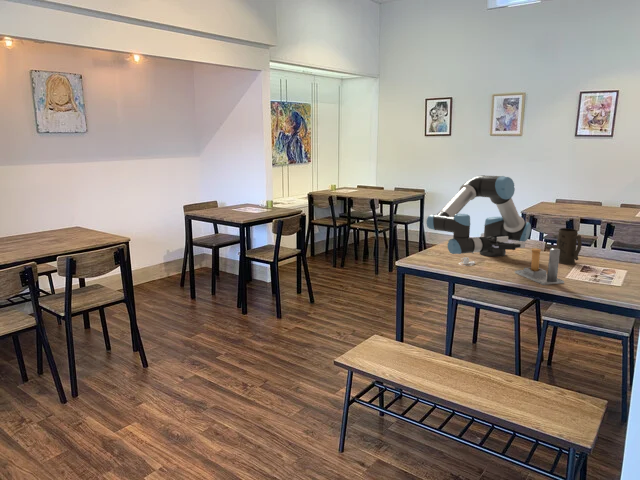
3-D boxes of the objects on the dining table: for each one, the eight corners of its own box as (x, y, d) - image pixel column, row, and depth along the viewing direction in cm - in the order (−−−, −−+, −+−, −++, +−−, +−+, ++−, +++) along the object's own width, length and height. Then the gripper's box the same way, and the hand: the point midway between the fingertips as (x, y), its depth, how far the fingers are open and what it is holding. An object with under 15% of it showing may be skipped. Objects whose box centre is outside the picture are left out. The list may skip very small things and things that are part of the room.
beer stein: (549, 260, 273) (554, 228, 268) (561, 258, 278) (566, 226, 272) (572, 268, 260) (579, 234, 255) (584, 266, 265) (591, 232, 260)
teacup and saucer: (476, 264, 267) (476, 257, 266) (472, 267, 260) (473, 260, 259) (460, 262, 271) (461, 255, 270) (456, 265, 264) (457, 258, 263)
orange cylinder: (528, 273, 243) (529, 248, 241) (535, 272, 244) (537, 248, 242) (533, 275, 239) (535, 250, 236) (541, 274, 240) (543, 249, 237)
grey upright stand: (514, 272, 248) (517, 241, 244) (534, 271, 251) (537, 240, 247) (543, 285, 226) (547, 250, 223) (565, 283, 229) (568, 249, 225)
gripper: (464, 246, 244) (500, 243, 249) (492, 258, 220) (531, 254, 225) (465, 232, 242) (501, 229, 247) (493, 242, 219) (533, 239, 223)
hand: (516, 241), depth 236 cm, fingers open, 13 cm apart
